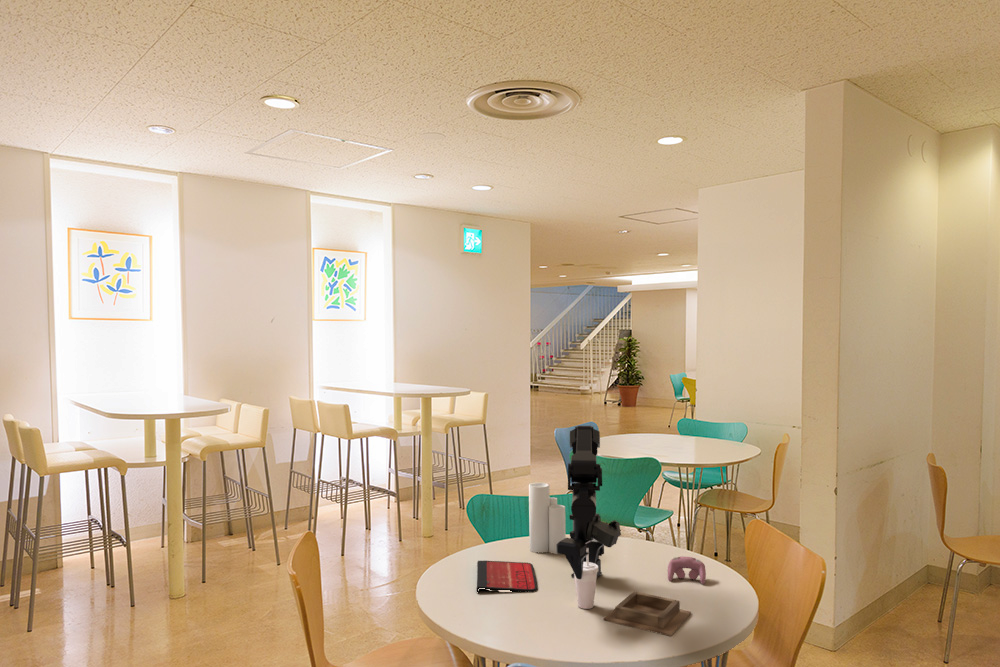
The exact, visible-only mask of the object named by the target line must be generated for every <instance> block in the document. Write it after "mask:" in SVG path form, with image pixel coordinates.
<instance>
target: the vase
mask: <svg viewBox="0 0 1000 667" xmlns="http://www.w3.org/2000/svg"><path fill="white" fill-rule="evenodd" d="M550 490H551V489H550V484H549V483H546V482H531V483H529V484H528V512H529V513H528V514H529V515H528V518H529V519H528V521H529V525H528V526H529V532H528V534H529V551H530V552H531V551H532V552H531V553H534V552H538V553H537V554H540V553H539V552H542V553H541V554H544V553H543V552H546V553H550V552H551V553H550V554H552V553H554V554H553V555H559V554H558V553H557V551H556V545H557V544H558V543H559V542H560V541H561V540H563V539H565V538H567V537H566V536H567V535H566V506H565V505H563V504H558V498H557V497H554V496H552V497H551V496H550V493H551V492H550ZM548 551H549V552H548Z"/></svg>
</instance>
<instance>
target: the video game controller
mask: <svg viewBox="0 0 1000 667" xmlns="http://www.w3.org/2000/svg"><path fill="white" fill-rule="evenodd" d="M684 569H690V570H689V572H688V577H689V579H690V580H692V579H693V580H692V581H695V580H697V579H698V577H699V580H700V584H701V585H705V583H706V575H707V573H706V565H705V563H704V562H703V561H701V560H700V559H697V558H695V557H691V556H678V557H673V558H672V559H670V561H669V562H668V565H667V579H668V581H669V582H672V581H673V580H674V577H675V575H676V577H677V578H678V579H681V578H682V579H685V578H686V572H685V571H684Z"/></svg>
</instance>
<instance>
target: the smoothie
mask: <svg viewBox="0 0 1000 667" xmlns="http://www.w3.org/2000/svg"><path fill="white" fill-rule="evenodd" d="M586 552H588V553H589V548H586ZM598 571H599V570H598V565H597V564H595V563H591V562H589V554H588V555H587V556H586V562H583V572H582V579H577V578H576V576H575V574H574V577H573V578H574V584H575V592H576V599H577V606H578V607H579V608H580V609H584V610H587V609H588V610H589V609H592V608H594V607H595V606H594V605H595V596H596V595H595V594H596V586H597V579H598V577H597V572H598Z"/></svg>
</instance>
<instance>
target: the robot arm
mask: <svg viewBox="0 0 1000 667" xmlns="http://www.w3.org/2000/svg"><path fill="white" fill-rule="evenodd" d="M600 438H601V434H600V431H599V430H597V429H595V428H594V426H592V425H577V426H574V429H572V430H569V448H572V450H571V451H572V455H571V457H570V462H569V463H567V491H572V493H571V494H572V499H571V505H570V510H571V514H569V520H570V521H571V520H572V530H571V531H570V532H569V537H566V538H565V539H563V540H561V541H560V542H559V543H558V544H557V545H556V551H557V553H558V554H557V555H564V556H565V558H566V560H567V562H568V563H569V566H570V567H571V570H572V571H573V573H571V574H570V575H571V577H572V578H574V574H575V576H576V578H577V579H582V572H583V562H586V556H587V555H588V554H589V562H591V563H595V564H597V565H598V570H599V571H598V572H597V578H598V577H600V576H601V575H603V572H602V565H601V564H602V563H601V562H602V561H601V559H600V557H602V556H603V555H604V554H605V547H606V548H612V547H613V546H614V545H616V544H617V543H618V540H619V537H620V536H622V533H621V531H622V530H621V526H620V522H618V521H617V520H615V519H614V520H612V521H611V522H609V523H608V522H603V521H602V519H601V515H600V513H597V492H600V491H601V488H600V487H603V468H602V467H601V464H600V463H597V456H598V449H599V448H601V439H600ZM586 548H589V553H588V552H586Z"/></svg>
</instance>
